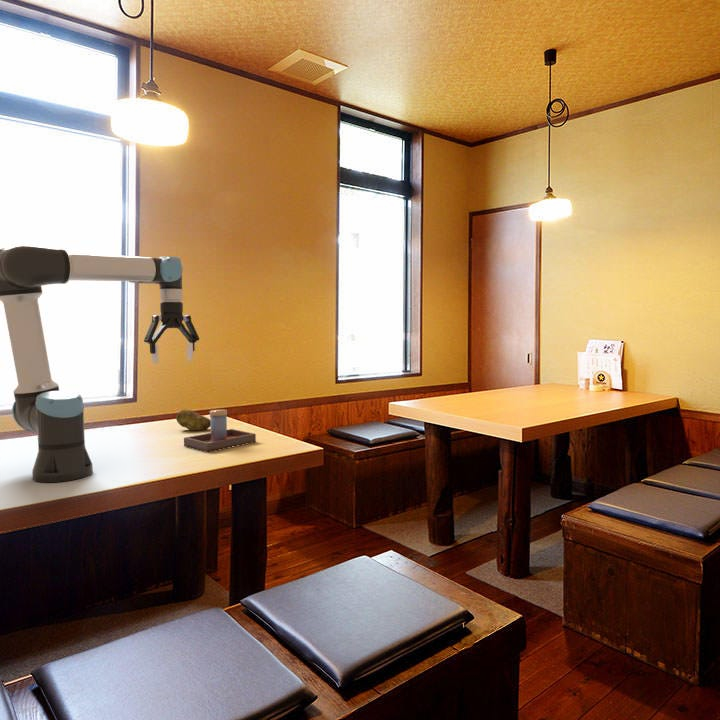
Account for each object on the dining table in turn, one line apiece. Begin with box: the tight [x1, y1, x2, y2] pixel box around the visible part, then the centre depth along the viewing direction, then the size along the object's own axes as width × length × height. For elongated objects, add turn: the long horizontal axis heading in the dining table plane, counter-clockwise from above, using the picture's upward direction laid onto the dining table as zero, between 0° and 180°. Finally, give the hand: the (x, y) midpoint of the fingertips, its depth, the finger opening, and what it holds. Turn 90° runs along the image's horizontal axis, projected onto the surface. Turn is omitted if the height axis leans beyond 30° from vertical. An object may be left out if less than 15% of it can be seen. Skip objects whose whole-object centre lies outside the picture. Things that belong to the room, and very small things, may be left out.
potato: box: [175, 409, 211, 431], centre depth 225 cm, size 8×13×8 cm, turn 74°
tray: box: [183, 428, 257, 453], centre depth 199 cm, size 20×14×3 cm
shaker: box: [209, 409, 228, 442], centre depth 199 cm, size 6×6×11 cm
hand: (173, 362), depth 201 cm, fingers open, 13 cm apart
